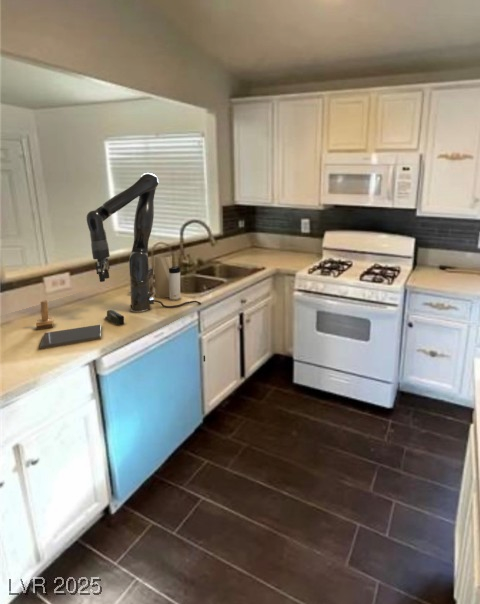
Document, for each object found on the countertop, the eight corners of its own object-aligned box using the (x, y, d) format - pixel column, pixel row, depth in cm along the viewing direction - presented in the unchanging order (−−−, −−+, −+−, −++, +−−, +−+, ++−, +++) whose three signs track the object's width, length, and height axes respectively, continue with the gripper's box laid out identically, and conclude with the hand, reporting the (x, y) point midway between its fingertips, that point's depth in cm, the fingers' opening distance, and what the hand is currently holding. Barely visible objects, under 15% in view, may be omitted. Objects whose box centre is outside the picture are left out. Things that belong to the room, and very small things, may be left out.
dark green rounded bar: (125, 315, 175) (109, 307, 184) (119, 317, 173) (103, 309, 181) (125, 324, 176) (109, 316, 184) (119, 326, 174) (103, 318, 182)
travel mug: (177, 301, 210) (176, 268, 208) (167, 300, 212) (166, 267, 209) (183, 297, 216) (182, 265, 214) (173, 296, 218) (172, 265, 215)
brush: (54, 324, 173) (52, 298, 172) (53, 327, 169) (51, 301, 168) (38, 326, 170) (36, 300, 168) (36, 330, 166) (34, 303, 165)
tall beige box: (151, 296, 217) (150, 256, 213) (162, 291, 226) (161, 253, 223) (166, 298, 214) (165, 258, 211) (175, 293, 224) (175, 254, 221)
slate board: (100, 327, 172) (100, 324, 171) (100, 339, 160) (100, 335, 159) (44, 336, 161) (44, 332, 161) (40, 349, 149) (39, 345, 149)
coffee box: (148, 297, 215) (147, 271, 213) (137, 297, 215) (136, 271, 213) (153, 292, 224) (152, 267, 222) (143, 292, 224) (142, 267, 222)
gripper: (104, 249, 176) (109, 281, 177) (111, 246, 190) (116, 276, 191) (87, 251, 174) (92, 284, 175) (96, 248, 188) (100, 278, 189)
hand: (104, 279), depth 183 cm, fingers open, 8 cm apart
